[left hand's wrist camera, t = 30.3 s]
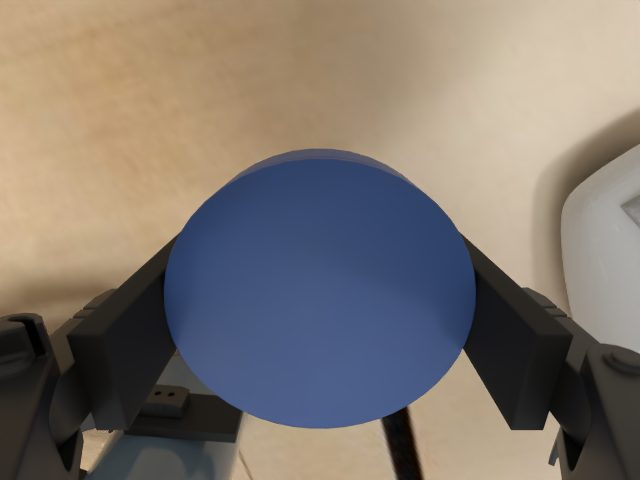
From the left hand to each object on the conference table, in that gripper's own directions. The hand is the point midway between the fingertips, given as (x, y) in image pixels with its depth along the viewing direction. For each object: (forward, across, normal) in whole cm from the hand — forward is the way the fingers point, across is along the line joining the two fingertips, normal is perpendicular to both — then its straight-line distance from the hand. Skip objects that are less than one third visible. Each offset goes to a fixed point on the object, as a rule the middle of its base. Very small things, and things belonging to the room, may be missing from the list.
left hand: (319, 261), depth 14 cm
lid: (-4, 0, 0) cm, 4 cm away
